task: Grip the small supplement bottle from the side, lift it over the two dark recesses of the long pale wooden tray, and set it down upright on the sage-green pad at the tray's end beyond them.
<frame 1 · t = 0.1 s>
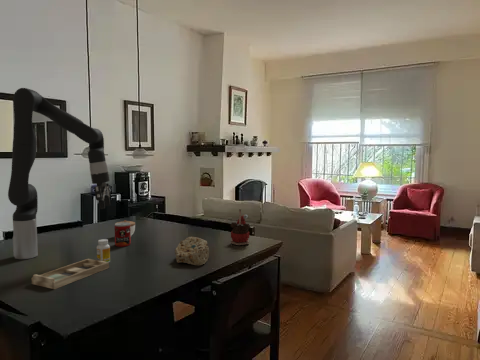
hand: (105, 207, 173), 22 cm above the table, tool pointing down, fingers open, 8 cm apart
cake: (240, 244, 196), on the table
wooden tray: (72, 275, 148), on the table
rock: (192, 259, 170), on the table
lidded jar: (125, 237, 211), on the table
canned food: (123, 245, 194), on the table
supplement bottle: (103, 262, 165), on the table
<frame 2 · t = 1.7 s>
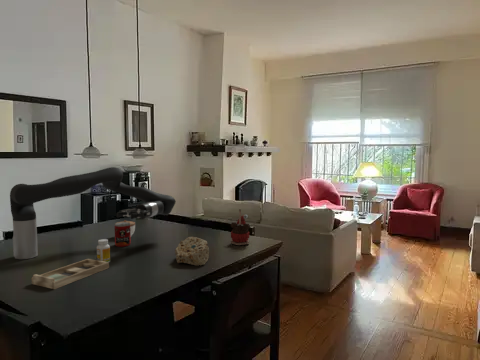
hand: (123, 215, 175), 18 cm above the table, tool horizontal, fingers open, 8 cm apart
nothing on the table moved.
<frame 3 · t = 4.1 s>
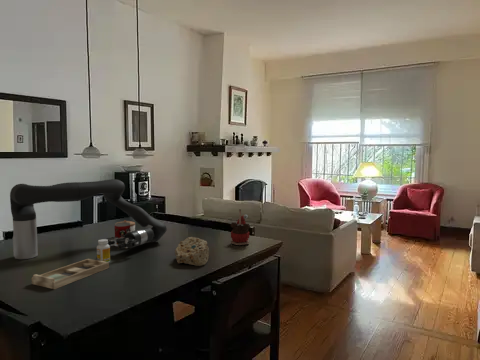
hand: (111, 246, 168), 6 cm above the table, tool horizontal, fingers open, 8 cm apart
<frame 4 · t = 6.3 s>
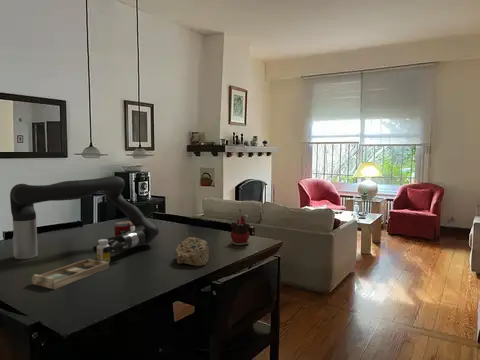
hand: (98, 249, 162), 6 cm above the table, tool horizontal, fingers closed on supplement bottle, 5 cm apart
supplement bottle: (103, 262, 165), on the table, touching gripper
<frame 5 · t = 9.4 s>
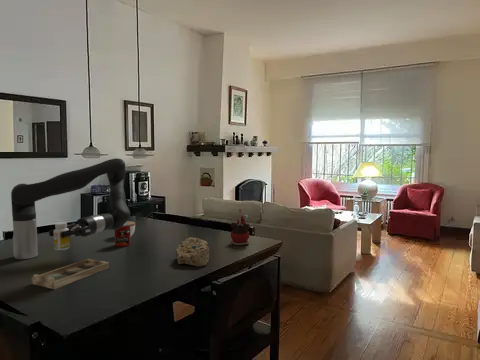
hand: (55, 234, 140), 18 cm above the table, tool horizontal, fingers closed on supplement bottle, 5 cm apart
supplement bottle: (62, 249, 143), point 12 cm above the table, touching gripper
when the fingers open (9 cm above the table, at t = 12.4 s): supplement bottle drops 1 cm, resting on wooden tray.
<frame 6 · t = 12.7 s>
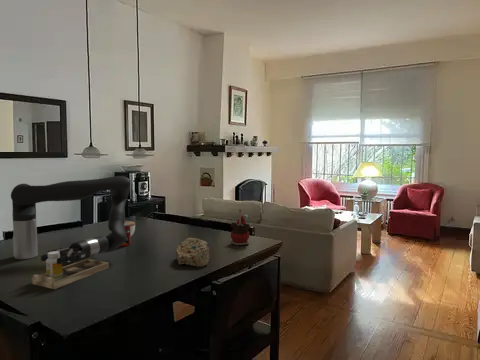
hand: (49, 260, 138), 9 cm above the table, tool horizontal, fingers open, 8 cm apart
supplement bottle: (54, 278, 140), point 1 cm above the table, touching wooden tray
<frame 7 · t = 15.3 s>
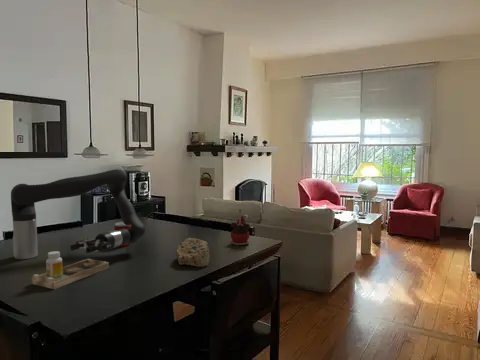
hand: (78, 249, 150), 10 cm above the table, tool horizontal, fingers open, 8 cm apart
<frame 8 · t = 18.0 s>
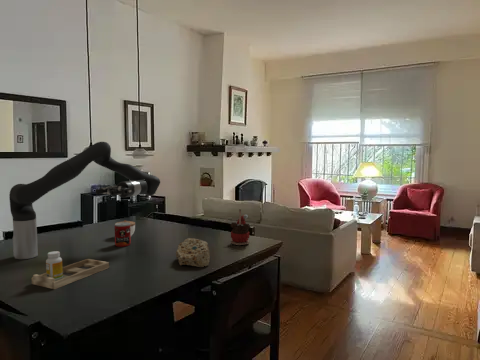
hand: (103, 192, 166), 30 cm above the table, tool horizontal, fingers open, 8 cm apart
at the end: supplement bottle inside the target area on the wooden tray (0.2 cm from its centre), point 1.2 cm above the wooden tray's base; supplement bottle tilted 0°; the gripper is holding nothing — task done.
